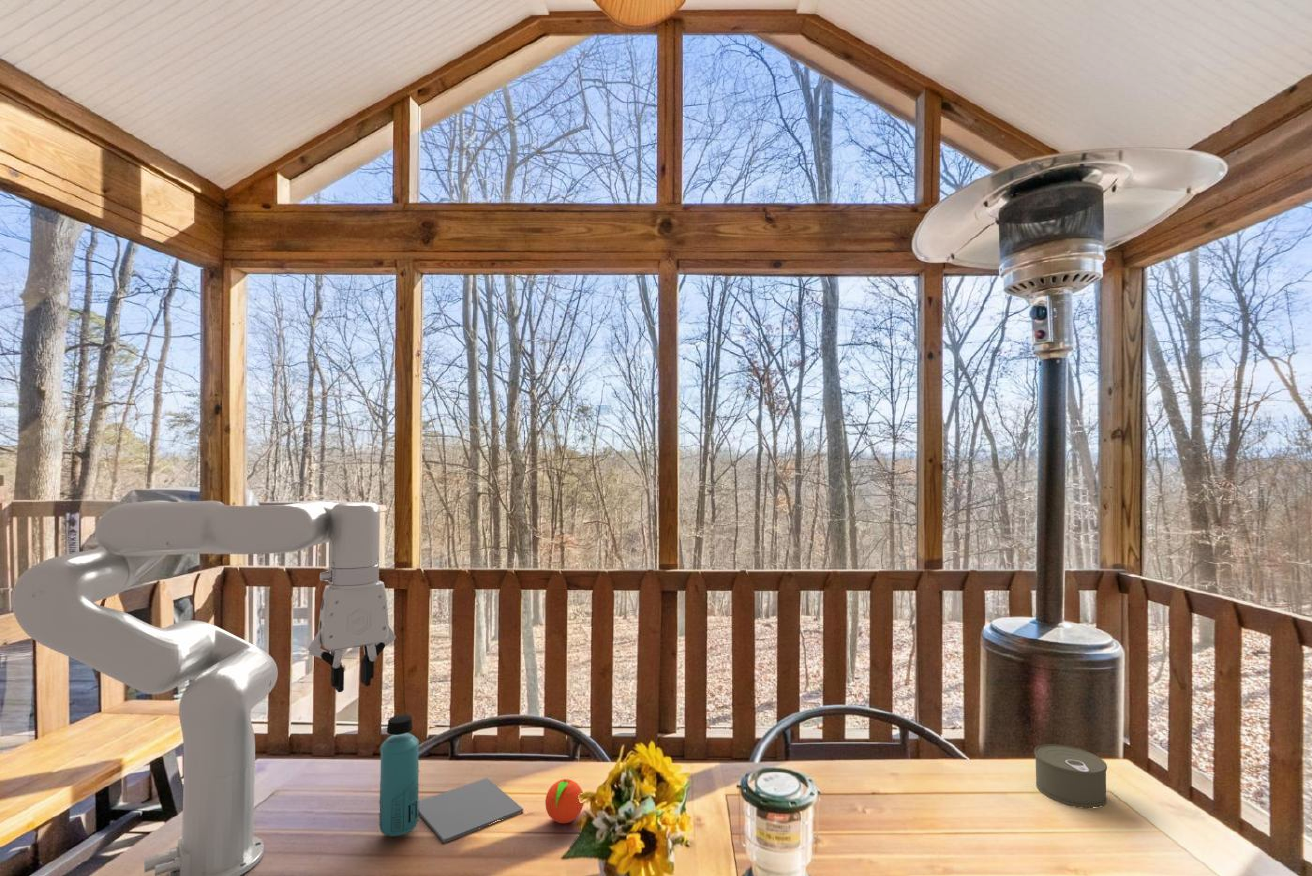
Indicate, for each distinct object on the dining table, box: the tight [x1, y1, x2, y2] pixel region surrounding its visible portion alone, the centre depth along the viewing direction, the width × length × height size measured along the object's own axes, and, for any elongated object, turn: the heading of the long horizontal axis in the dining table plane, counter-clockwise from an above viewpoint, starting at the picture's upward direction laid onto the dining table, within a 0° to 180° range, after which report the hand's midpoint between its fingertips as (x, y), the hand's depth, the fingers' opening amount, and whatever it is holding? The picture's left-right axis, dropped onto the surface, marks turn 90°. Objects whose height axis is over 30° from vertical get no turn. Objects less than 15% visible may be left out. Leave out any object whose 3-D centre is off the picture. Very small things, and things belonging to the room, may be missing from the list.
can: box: [1033, 743, 1108, 809], centre depth 126 cm, size 12×12×7 cm
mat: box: [418, 777, 524, 844], centre depth 119 cm, size 15×15×1 cm
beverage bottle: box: [378, 714, 420, 837], centre depth 112 cm, size 6×7×20 cm
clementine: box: [544, 778, 585, 824], centre depth 115 cm, size 8×7×7 cm
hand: (352, 685), depth 107 cm, fingers open, 3 cm apart
